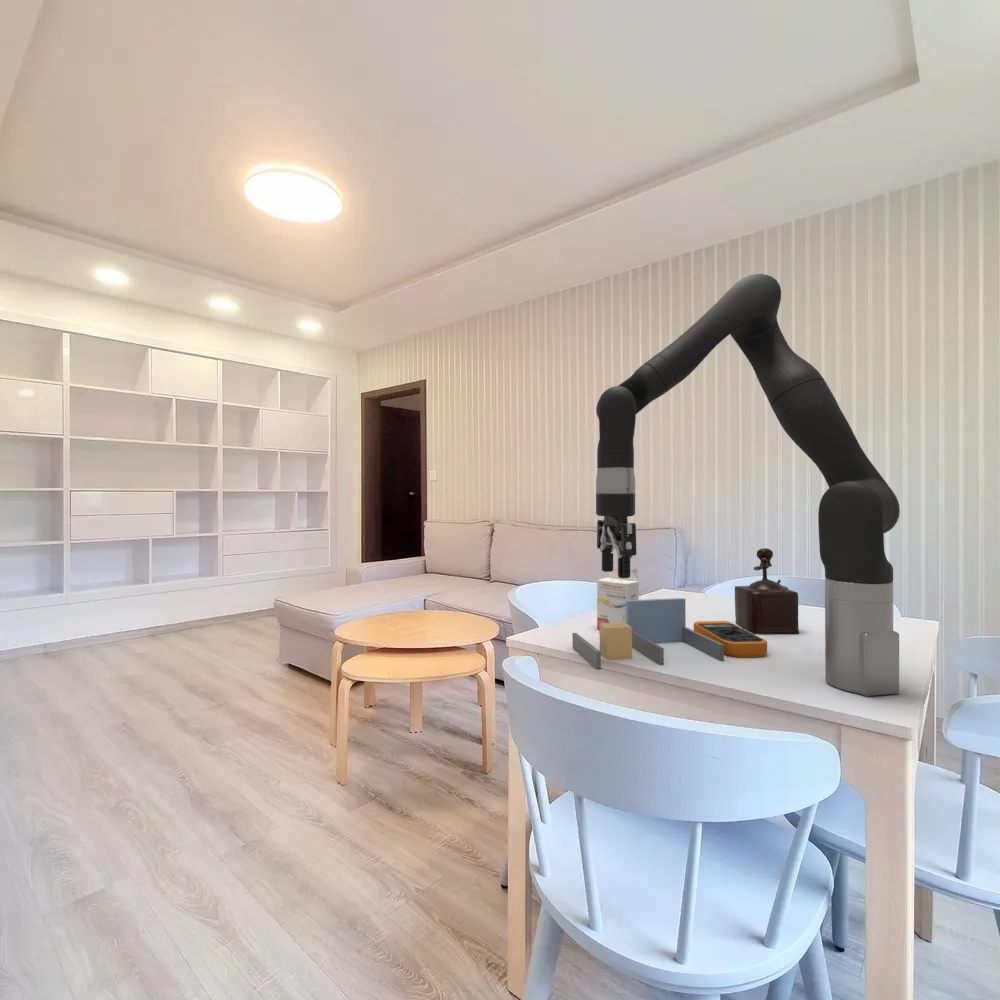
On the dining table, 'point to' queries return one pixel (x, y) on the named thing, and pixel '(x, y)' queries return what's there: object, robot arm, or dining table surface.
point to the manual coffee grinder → (766, 603)
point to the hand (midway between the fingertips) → (615, 574)
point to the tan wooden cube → (615, 640)
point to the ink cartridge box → (615, 596)
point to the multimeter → (733, 638)
